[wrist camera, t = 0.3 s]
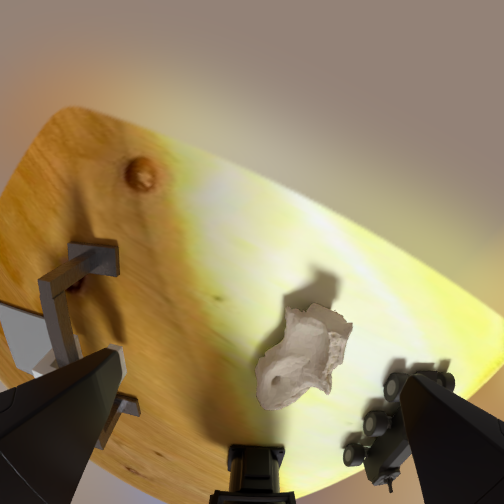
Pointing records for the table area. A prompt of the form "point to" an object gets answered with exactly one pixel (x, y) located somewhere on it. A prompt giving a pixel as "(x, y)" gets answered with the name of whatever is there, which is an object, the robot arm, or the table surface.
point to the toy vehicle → (388, 433)
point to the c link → (50, 363)
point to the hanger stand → (58, 320)
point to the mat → (25, 336)
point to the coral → (302, 356)
